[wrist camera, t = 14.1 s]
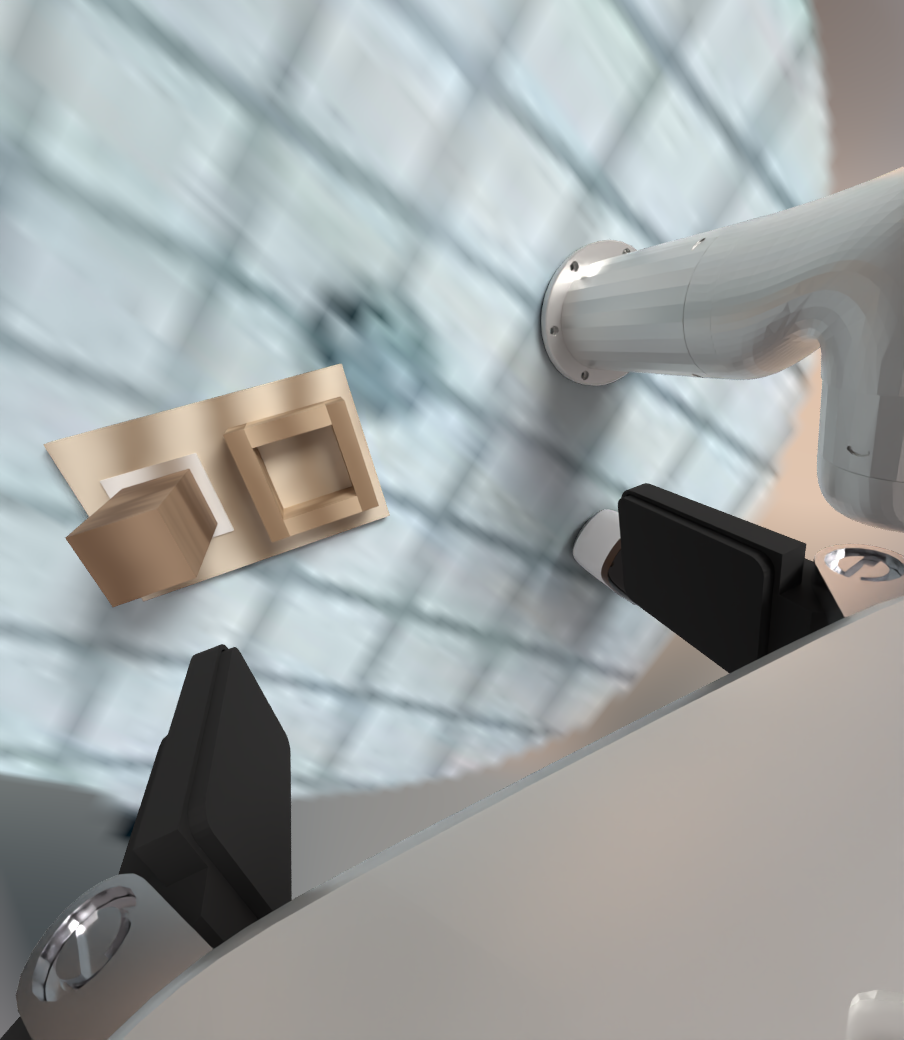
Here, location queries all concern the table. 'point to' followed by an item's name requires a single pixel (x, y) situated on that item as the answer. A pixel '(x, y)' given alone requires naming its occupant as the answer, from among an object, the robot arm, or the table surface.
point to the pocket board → (243, 465)
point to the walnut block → (146, 537)
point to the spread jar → (602, 550)
